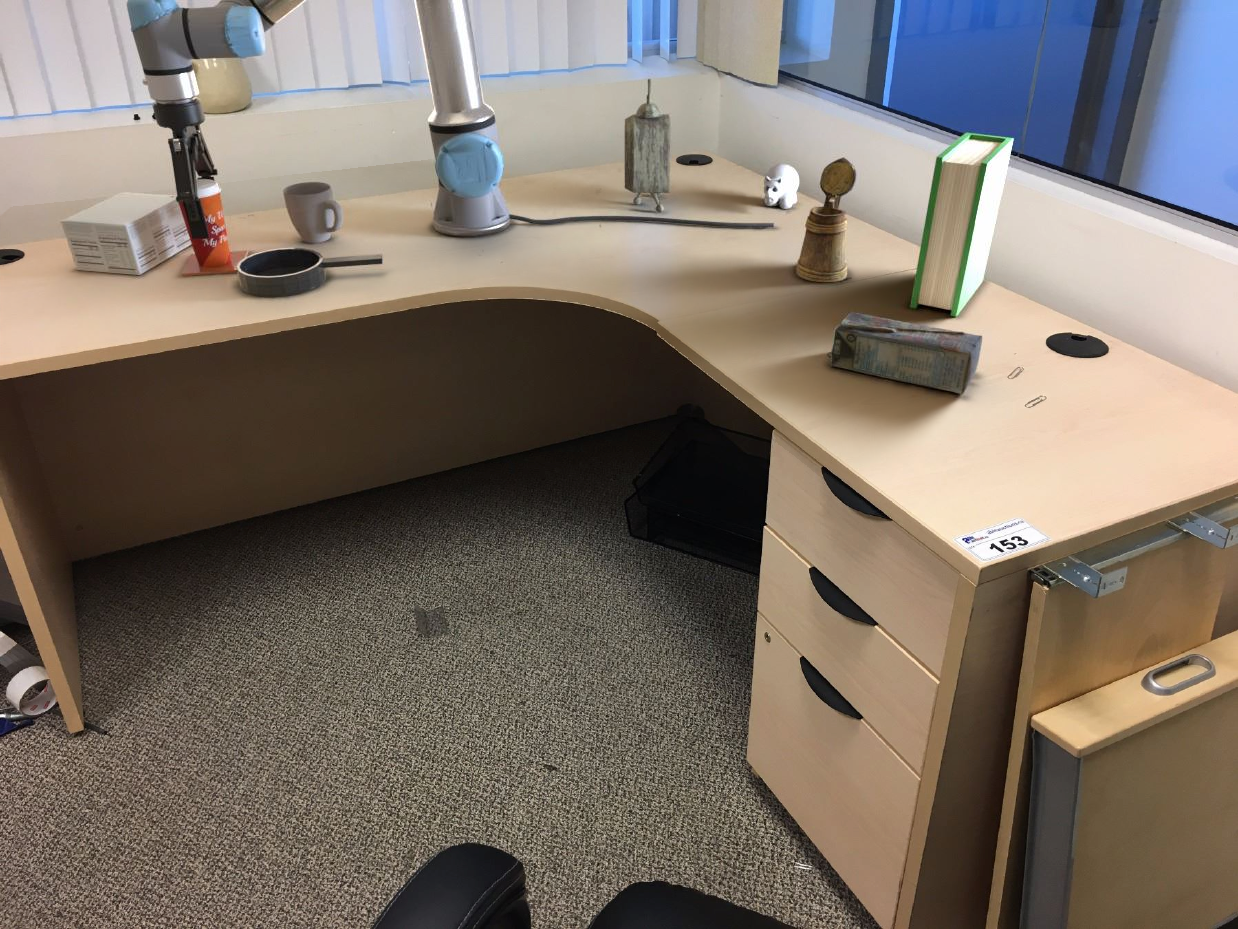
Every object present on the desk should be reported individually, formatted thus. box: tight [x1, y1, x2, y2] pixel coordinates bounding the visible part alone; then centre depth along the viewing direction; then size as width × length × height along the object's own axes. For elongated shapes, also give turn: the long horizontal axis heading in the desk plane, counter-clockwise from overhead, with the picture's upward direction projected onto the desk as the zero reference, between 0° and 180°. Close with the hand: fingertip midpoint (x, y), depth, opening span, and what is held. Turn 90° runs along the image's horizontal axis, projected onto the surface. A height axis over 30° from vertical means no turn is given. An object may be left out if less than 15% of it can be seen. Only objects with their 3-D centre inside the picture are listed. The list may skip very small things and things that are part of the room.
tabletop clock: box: [624, 78, 671, 213], centre depth 193 cm, size 14×9×25 cm, turn 179°
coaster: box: [180, 250, 249, 277], centre depth 170 cm, size 10×10×1 cm
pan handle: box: [323, 253, 384, 269], centre depth 164 cm, size 10×2×1 cm, turn 101°
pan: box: [236, 247, 327, 298], centre depth 162 cm, size 14×14×4 cm
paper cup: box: [173, 178, 231, 267], centre depth 166 cm, size 8×8×14 cm
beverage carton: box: [830, 311, 983, 395], centre depth 132 cm, size 8×19×7 cm, turn 61°
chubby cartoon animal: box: [763, 163, 800, 210], centre depth 195 cm, size 7×12×8 cm, turn 152°
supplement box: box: [60, 191, 192, 276], centre depth 171 cm, size 17×13×9 cm
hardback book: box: [909, 132, 1015, 318], centre depth 151 cm, size 18×7×24 cm, turn 149°
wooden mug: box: [795, 157, 857, 283], centre depth 163 cm, size 9×14×18 cm, turn 157°
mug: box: [282, 181, 344, 244], centre depth 179 cm, size 12×9×10 cm
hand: (208, 225), depth 166 cm, fingers open, 13 cm apart
